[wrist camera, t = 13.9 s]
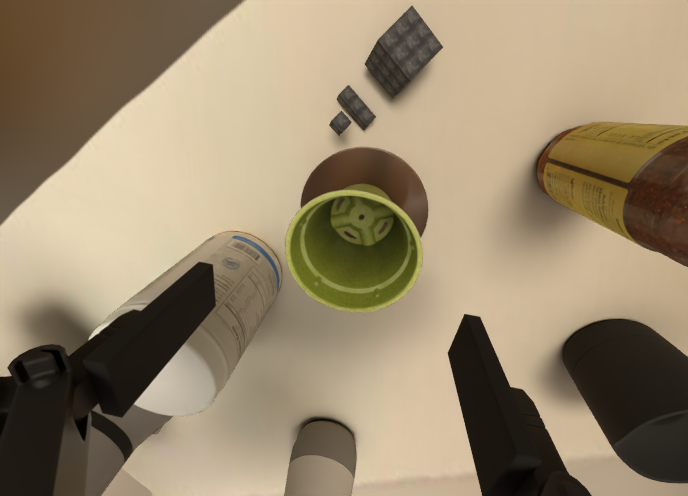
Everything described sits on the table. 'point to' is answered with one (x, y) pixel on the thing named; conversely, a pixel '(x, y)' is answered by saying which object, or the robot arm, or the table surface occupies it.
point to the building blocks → (391, 65)
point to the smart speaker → (322, 461)
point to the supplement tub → (211, 321)
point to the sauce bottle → (624, 181)
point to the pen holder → (635, 394)
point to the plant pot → (354, 249)
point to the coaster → (371, 181)
